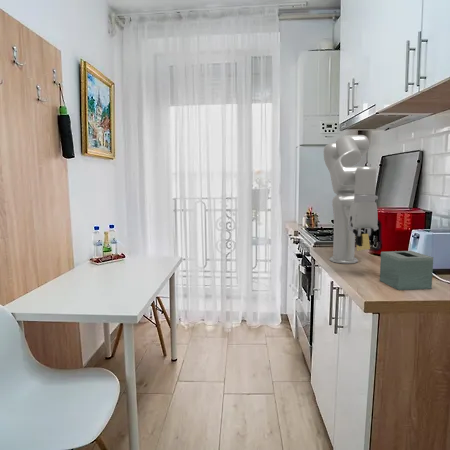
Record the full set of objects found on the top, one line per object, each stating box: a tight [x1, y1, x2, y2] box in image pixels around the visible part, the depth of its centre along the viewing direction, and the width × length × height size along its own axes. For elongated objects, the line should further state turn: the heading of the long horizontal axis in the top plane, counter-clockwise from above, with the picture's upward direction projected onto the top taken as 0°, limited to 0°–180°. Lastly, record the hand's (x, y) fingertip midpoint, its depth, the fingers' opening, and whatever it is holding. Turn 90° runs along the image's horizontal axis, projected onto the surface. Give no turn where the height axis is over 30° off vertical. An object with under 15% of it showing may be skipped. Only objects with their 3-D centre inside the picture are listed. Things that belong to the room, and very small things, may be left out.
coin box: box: [379, 250, 434, 291], centre depth 125 cm, size 12×12×11 cm
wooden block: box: [355, 233, 371, 252], centre depth 138 cm, size 6×2×6 cm, turn 5°
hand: (362, 245), depth 138 cm, fingers closed on wooden block, 2 cm apart
